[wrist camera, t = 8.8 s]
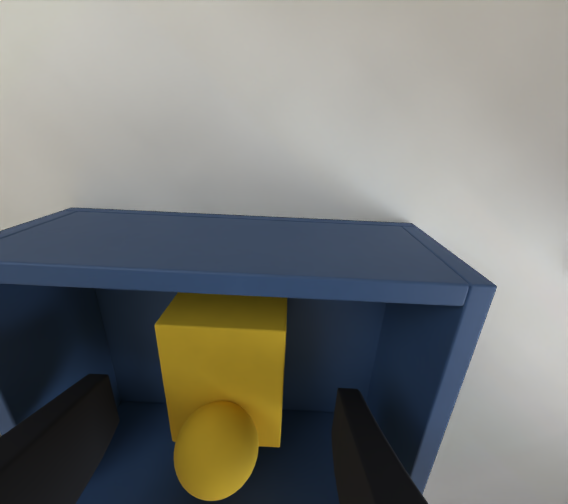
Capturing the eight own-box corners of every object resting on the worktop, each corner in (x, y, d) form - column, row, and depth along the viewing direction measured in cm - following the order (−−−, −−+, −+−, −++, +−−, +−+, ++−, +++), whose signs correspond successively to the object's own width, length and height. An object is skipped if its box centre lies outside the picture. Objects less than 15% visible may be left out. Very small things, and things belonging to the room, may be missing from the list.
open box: (412, 223, 11) (498, 286, 6) (371, 413, 15) (407, 539, 10) (71, 206, 11) (-86, 257, 7) (117, 400, 15) (39, 517, 10)
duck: (287, 281, 12) (284, 395, 7) (282, 390, 14) (276, 540, 9) (188, 276, 12) (107, 386, 7) (199, 386, 14) (144, 532, 9)
